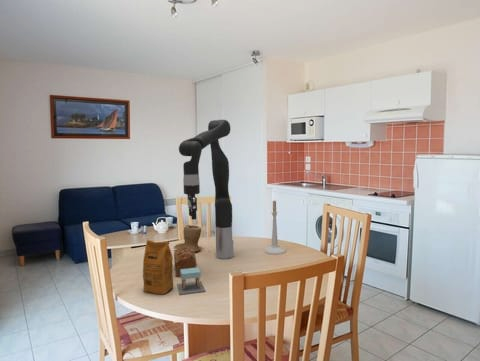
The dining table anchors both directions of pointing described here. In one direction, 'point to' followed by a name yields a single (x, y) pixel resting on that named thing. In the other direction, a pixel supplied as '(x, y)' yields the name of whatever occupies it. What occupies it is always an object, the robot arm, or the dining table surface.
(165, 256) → the coffee package
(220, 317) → the dining table surface
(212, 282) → the dining table surface
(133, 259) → the dining table surface
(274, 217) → the candlestick
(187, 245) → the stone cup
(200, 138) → the robot arm
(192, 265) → the bread
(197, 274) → the blue block with pegs
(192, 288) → the mat
